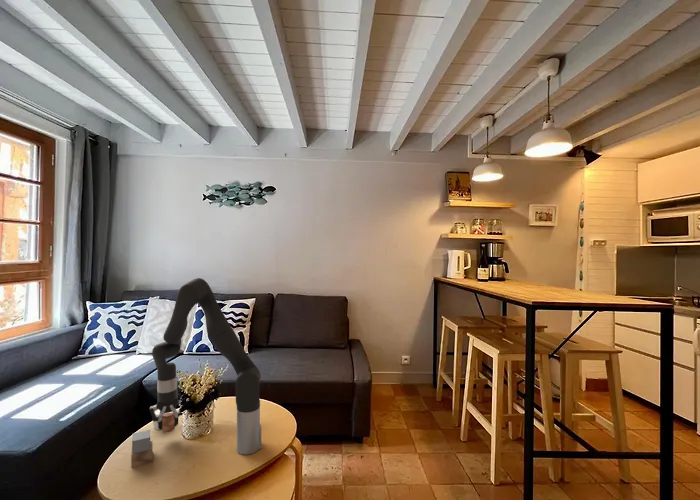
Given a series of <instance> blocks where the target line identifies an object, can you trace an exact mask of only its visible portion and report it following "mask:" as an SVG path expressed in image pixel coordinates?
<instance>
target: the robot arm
mask: <svg viewBox="0 0 700 500" xmlns="http://www.w3.org/2000/svg"><path fill="white" fill-rule="evenodd" d="M218 303H219V302H218V301H217V299H216V297H215V294H214V293H213V291H212V288H211V287H210V285H209V283H208V282H207V281H206V280H205V279H204V278H200V277H196V278H193V279H192V280H190V281H188V282H186V283H183V284H182V285H181V286H180V287H179V289H178V292H177V295H176V299H175V304H174V308H173V310H172V315H171V317H170V320H169V323H168V324H167V327H166V329H165V331H164V333H163V340H164V342H163V341H162V342H159V343H156V344H155V345H154V346H153V348H152V351H151V354H152V358H153V360H154V365H155V367H156V370H157V383H156V384H157V385H156V387H157V388H156V390H157V403H156V404H155V405H150V407H149V413H150V415H151V419H152V422H153V421H154V422H155V421H158V428H159V429H160V430H159V431H162V417H163V415H164V413H167V412H169V413H173V414H174V416H175V427H177V425H179V417H181V416H183V414H184V412H183V413H181V412H180V410H179V411H177V406H178V404H179V405H180V401H181V400H180V399H179V398H178V380H177V366H176V364H175V362H171V361H170V362H167V360H168V359H171V358H173V357H176V356H177V355H179V353H180V351H181V348H182V340H183V336H184V334H185V332H186V330H187V327H188V318H189V314H190V312H191V311H192V310H193V309H194V307H195V305H197V304H199V306H200V308H201V309H202V311H203V313H204V317H205V327H206V334H207V337H208V338H209V340H210V342H211V343H212V345H213V346H214V348H215V349H216V350H217V352H218V353H220V354H221V355H222V356H223V357H224V358H226V359H227V360H228V362H229V363H230V364H231V366H232V367H233V370H234V371H235V374H236V375H237V376H236V379H235V386H234V387H235V388H234V389H235V405H236V452H237V453H239V454H240V455H246V456H247V455H252V454H254V453H256V452H258V451H259V450H262V424H261V399H260V382H261V378H262V377H261V372H260V370H259V368H258V367H257V365H256V364H255V363H254V361H253V360H252V359H251V358H250V356H249V355H248V353H247V352H246V351H245V348H244V347H243V345H242V342H241V341H240V340H239V337H238V336H237V334H236V332H235V331H234V329H233V327H232V325H231V324H230V323H229V321H228V319H227V318H226V316H225V314H224V312H223V310H222V309H221V307H220V306H219V304H218ZM157 409H159V410H160V413H159V416H158V417H156V415H155V411H156V410H157Z"/></svg>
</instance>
